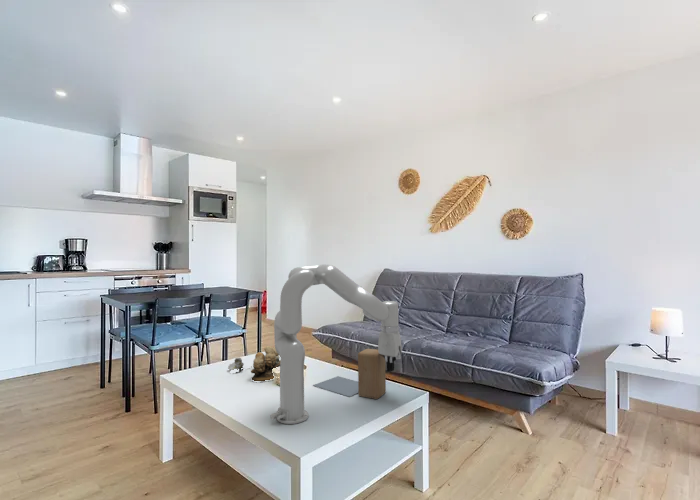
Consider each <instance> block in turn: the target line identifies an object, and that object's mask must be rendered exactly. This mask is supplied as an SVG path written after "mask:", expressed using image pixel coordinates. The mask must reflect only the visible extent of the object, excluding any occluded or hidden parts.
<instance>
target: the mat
mask: <svg viewBox="0 0 700 500" xmlns="http://www.w3.org/2000/svg"><path fill="white" fill-rule="evenodd" d="M312 387H316V388H318V389H320V390H321V389H323V390H326V391H327V392H330V393H334V394H338V395H341V396H344V397H347V398H351V397H354V396H356V395H359V392H358V380H354V379H350V378H346V377H344V376H343V377H342V376H339V375H337V376H335V377H332V378H329V379H326V380H323V381H321V382H318V383H315V384H313V385H312Z"/></svg>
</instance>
